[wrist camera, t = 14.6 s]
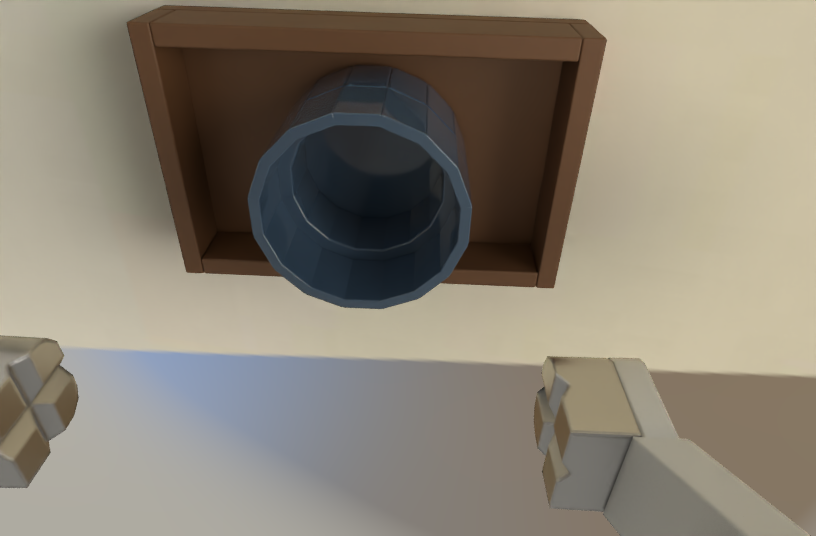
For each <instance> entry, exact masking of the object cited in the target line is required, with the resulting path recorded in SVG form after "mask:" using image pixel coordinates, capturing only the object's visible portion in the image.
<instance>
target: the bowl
mask: <svg viewBox="0 0 816 536" xmlns="http://www.w3.org/2000/svg"><path fill="white" fill-rule="evenodd" d="M247 200H248V206H249V213H250V219H251V226H252V232H253V236H254V238H255V240H256V242H257V243H258V245H259V246H260V248H261V250H262V251H263V253H264V254H265V256H266V258H267V259H268V261H269V262H270V264H271V266H272V267H273V269H274V270H275V271H277V272H278V273H279V274H280V275H282V276H283V277H284V278H286V279H287V280H288V281H289V282H291V283H292V284H293V285H294V286H296V287H297V288H298V289H300V290H301V291H302V292H303V293H306V294H307V295H310V296H313V297H315V298H318V299H321V300H324V301H326V302H329V303H332V304H335V305H337V306H340V307H345V308H369V309H384V308H387V307H391V306H395V305H398V304H402V303H405V302H409V301H412V300H416V299H418V298H421V297H422V296H423V295H425V294H426V293H427V292H429V291H430V290H432V289H433V288H434V287H436V286H437V285H438V284H440V283H441V282H443V281H444V280H445V279H447V278H448V277H449V276H450V275H451V273H452V271H453V270H454V268H455V266H456V265H457V263H458V261H459V260H460V258H461V256H462V255H463V253H464V251H465V250H466V248H467V246H468V244H469V236H470V226H471V216H472V200H471V192H470V183H469V175H468V167H467V159H466V150H465V142H464V139H463V136H462V134H461V131H460V128H459V125H458V122H457V119H456V116H455V113H454V111H452V109H451V107H450V106H449V105H448V104H447V103H446V102H445V101H444V100H443V99H442V98H441V96H440V95H439V94H438V93H437V92H436V91H435V90H434V89H433V88H432V87H431V86H430V85H429V84H427V83H426V82H425V81H423V80H421V79H419V78H417V77H414V76H412V75H410V74H408V73H406V72H404V71H401V70H399V69H397V68H392V67H390V66H368V65H355V66H354V67H353V66H349V67H347V68H344V69H342V70H339V71H337V72H334V73H332V74H329V75H327V76H324V77H322V78H320V79H319V80H316V81H315V83H314V84H313V85H312V86H311V87H310V88H309V89H308V90H307V91H306V92H305V93H304V94H303V95H302V96H301V97H300V98H299V99H298V100H297V101H296V103H295V104H294V105H293V107H292V109H291V110H290V112H289V113H288V115H287V116H286V118H285V120H284V121H283V123H282V124H281V126H280V128H279V129H278V130H277V132H276V134H275V135H274V137H273V138H272V140H271V142H270V143H269V145H268V146H267V148H266V150H265V151H264V153H263V154H262V156H261V157H260V159H259V161H258V164H257V167H256V171H255V174H254V177H253V180H252V183H251V187H250V190H249V193H248V198H247Z"/></svg>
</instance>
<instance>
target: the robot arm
mask: <svg viewBox="0 0 816 536" xmlns="http://www.w3.org/2000/svg"><path fill="white" fill-rule="evenodd" d="M63 357H64V354H63V352H62V350H61V348H60V346H59V344H58V342H57V341H55V340H51V339H48V338H34V337H17V336H1V335H0V488H27V487H28V486H29V484H30V483H31V481H32V480H33V478H34V477H35V475H36V474H37V472H38V471H39V469H40V468H41V466H42V465H43V463H44V462H45V460H46V459H47V457H48V456H49V454H50V447H49V440H51V439H52V438H54V437H55V436H57V435H58V434H60V433H61V432H63V431H65V430H66V428H67V426H68V425H69V423H70V421H71V420H72V418H73V416H74V414H75V410H76V406H77V402H78V388H77V384H76V382H75V379H74V377H73V375H72V374H71V373H69V372H68V371H67V370H65V369H64V368H63V367H61V366H60V363H61V361H62V359H63ZM542 378H543V382H544V387H543V388H542V389H541V390H540V391H538V392H537V396H536V402H535V410H534V428H535V437H536V442H537V447H538V449H539V450H540V451H541V452H542V453H543V454H544V455H545V456H546V458H545V462H544V466H543V470H542V473H543V478H544V483H545V488H546V493H547V498H548V503H549V507H550V508H555V509H570V510H585V511H601V512H604V513H603V515H604V516H605V517H606V518H607V520H608V521H609V522H610V524H611V525H612V526H613V527H614V528H615V530H616V531H617V532H618V533H619V535H620V536H811V535H809V534H808V533H807V532H806V531H804V530H803V529H802V528H801V527H799V526H798V525H797V524H796V523H794V522H793V521H792V520H790V519H789V518H788V517H787V516H785V515H784V514H783V513H782V512H780V511H779V510H778V509H777V508H775V507H774V506H773V505H772V504H770V503H769V502H768V501H767V500H765V499H764V498H763V497H761V496H760V495H759V494H758V493H756V492H755V491H754V490H753V489H751V488H750V487H749V486H748V485H746V484H745V483H744V482H742V481H741V480H740V479H739V478H738V477H736V476H735V475H734V474H732V473H731V472H730V471H729V470H727V469H726V468H724V466H722V465H721V464H720V463H718V462H717V461H716V460H715V459H713V458H712V457H711V456H710V455H708V454H707V453H706V452H705V451H703V450H702V449H701V448H700V447H698V446H697V445H696V444H695V443H693V442H692V441H691V440H690V439H679V437H678V434H677V432H676V430H675V428H674V426H673V424H672V422H671V419H670V417H669V415H668V413H667V411H666V408H665V406H664V404H663V402H662V400H661V398H660V396H659V393H658V391H657V389H656V387H655V385H654V382H653V381H652V378H651V376H650V374H649V372H648V369H647V367H646V365H645V363H644V362H643V361H642V360H641V359H639V358H608V359H607V358H588V357H552V356H547V358H546V360H545V362H544V365H543V369H542Z"/></svg>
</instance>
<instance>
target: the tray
mask: <svg viewBox="0 0 816 536" xmlns="http://www.w3.org/2000/svg"><path fill="white" fill-rule="evenodd" d="M127 27H128V32H129V36H130V40H131V44H132V48H133V52H134V56H135V61H136V65H137V69H138V73H139V77H140V81H141V86H142V90H143V94H144V98H145V102H146V106H147V110H148V115H149V119H150V123H151V127H152V131H153V135H154V140H155V144H156V148H157V152H158V156H159V160H160V164H161V169H162V173H163V177H164V181H165V185H166V189H167V194H168V198H169V202H170V206H171V210H172V214H173V219H174V223H175V227H176V231H177V235H178V239H179V243H180V248H181V252H182V256H183V260H184V264H185V268H186V272H188V273H204V272H205V273H213V274H236V275H260V276H282V275H280V274H279V273H278V272H277V271H275V270H274V269H273V267H272V266H271V264H270V262H269V261H268V259H267V258H266V256H265V254H264V253H263V251H262V250H261V248H260V246H259V245H258V243H257V242H256V240H255V238H254V236H253V232H252V226H251V219H250V213H249V206H248V200H247V198H248V193H249V190H250V187H251V183H252V180H253V177H254V174H255V171H256V167H257V164H258V161H259V159H260V157H261V156H262V154H263V153H264V151H265V150H266V148H267V146H268V145H269V143H270V142H271V140H272V138H273V137H274V135H275V134H276V132H277V130H278V129H279V128H280V126H281V124H282V123H283V121H284V120H285V118H286V116H287V115H288V113H289V112H290V110H291V109H292V107H293V105H294V104H295V103H296V101H297V100H298V99H299V98H300V97H301V96H302V95H303V94H304V93H305V92H306V91H307V90H308V89H309V88H310V87H311V86H312V85H313V84H314V83H315V81H316V80H319V79H320V78H322V77H324V76H327V75H329V74H332V73H334V72H337V71H339V70H342V69H344V68H347V67H349V66H353V67H354V66H355V65H368V66H390V67H392V68H397V69H399V70H401V71H404V72H406V73H408V74H410V75H412V76H414V77H417V78H419V79H421V80H423V81H425V82H426V83H427V84H429V85H430V86H431V87H432V88H433V89H434V90H435V91H436V92H437V93H438V94H439V95H440V96H441V98H442V99H443V100H444V101H445V102H446V103H447V104H448V105H449V106H450V107H451V109H452V111H454V113H455V116H456V119H457V122H458V125H459V128H460V131H461V134H462V136H463V139H464V142H465V150H466V159H467V167H468V175H469V183H470V192H471V200H472V216H471V226H470V236H469V244H468V246H467V248H466V250H465V251H464V253H463V255H462V256H461V258H460V260H459V261H458V263H457V265H456V266H455V268H454V270H453V271H452V273H451V275H450V276H449V277H448V278H447V279H445V280H444V281H443V282H441V283H447V284H471V285H494V286H517V287H535V286H536V287H537V288H554V285H555V280H556V276H557V271H558V266H559V262H560V257H561V252H562V248H563V243H564V238H565V234H566V229H567V224H568V219H569V215H570V210H571V205H572V201H573V196H574V191H575V187H576V182H577V177H578V173H579V168H580V163H581V159H582V154H583V149H584V144H585V140H586V135H587V130H588V126H589V121H590V116H591V112H592V107H593V102H594V98H595V93H596V88H597V83H598V79H599V74H600V69H601V65H602V60H603V55H604V51H605V46H606V41H607V40H606V38H605V37H604V36H603V35H602V34H600V33H599V32H598V31H597V30H596V29H595V28H594V27H593V26H592V25H590V24H589V23H588V22H587V21H586V20H575V19H546V18H517V17H488V16H459V15H430V14H400V13H371V12H342V11H313V10H284V9H255V8H226V7H197V6H168V5H164V6H161V7H159V8H157V9H155V10H153V11H150V12H148V13H146V14H144V15H142V16H140V17H137V18H135V19H133V20H131V21H129V22H127Z"/></svg>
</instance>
